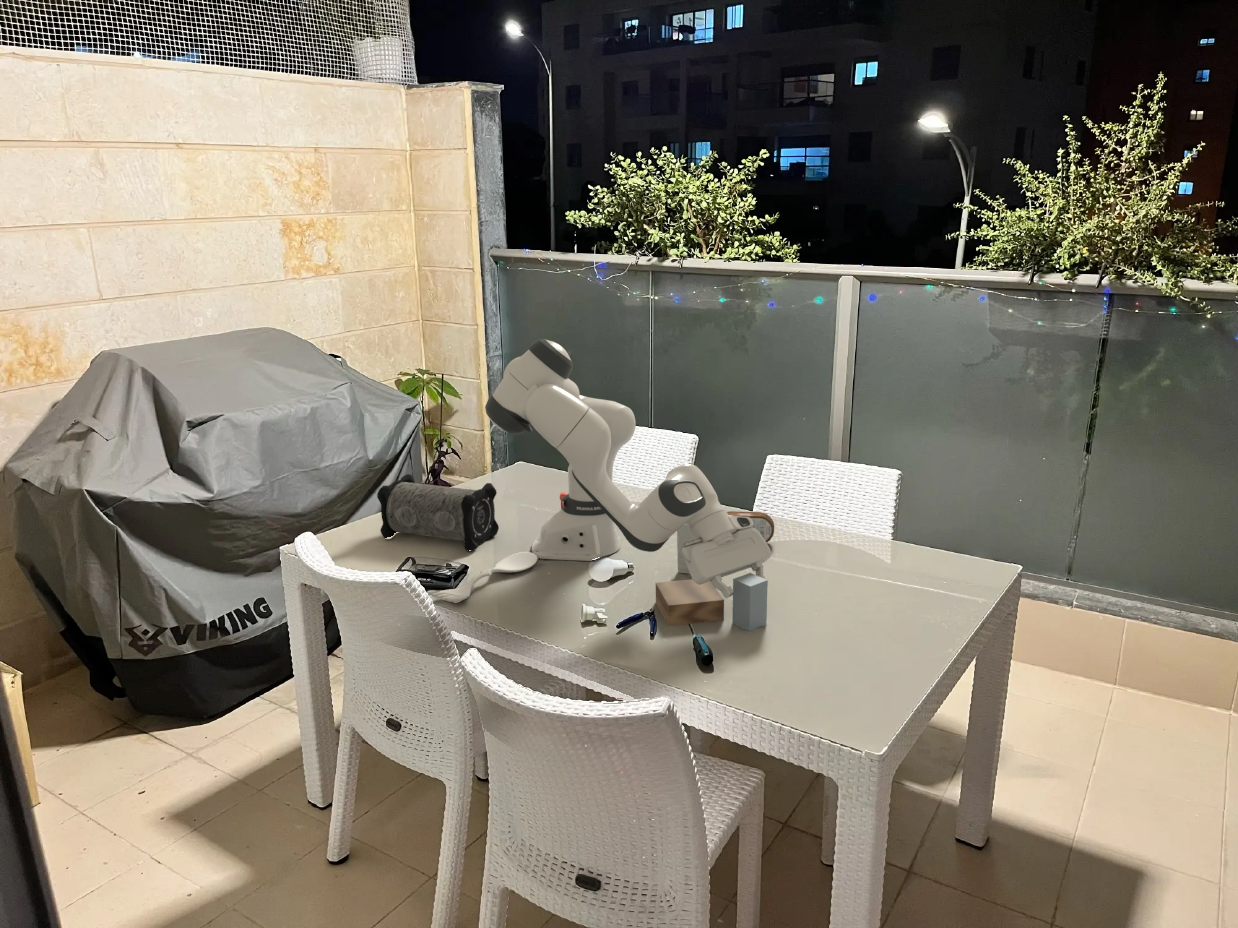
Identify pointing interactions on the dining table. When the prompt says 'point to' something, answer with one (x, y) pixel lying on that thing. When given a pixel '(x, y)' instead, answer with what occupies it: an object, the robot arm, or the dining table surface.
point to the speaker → (438, 511)
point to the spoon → (507, 564)
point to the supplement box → (683, 537)
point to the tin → (759, 522)
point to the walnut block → (689, 602)
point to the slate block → (750, 601)
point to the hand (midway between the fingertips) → (746, 590)
